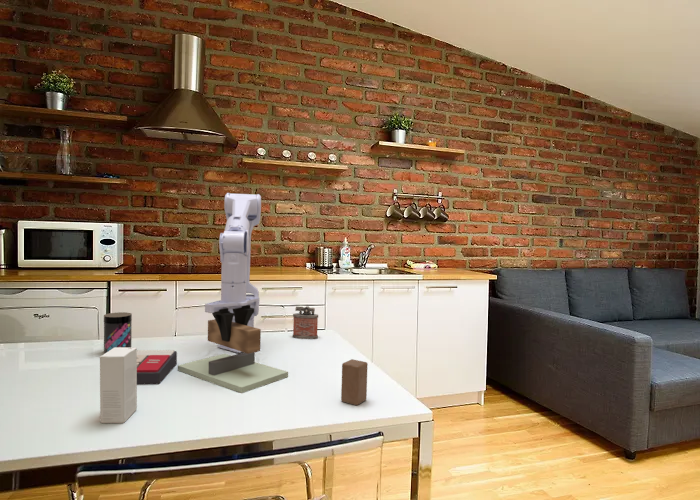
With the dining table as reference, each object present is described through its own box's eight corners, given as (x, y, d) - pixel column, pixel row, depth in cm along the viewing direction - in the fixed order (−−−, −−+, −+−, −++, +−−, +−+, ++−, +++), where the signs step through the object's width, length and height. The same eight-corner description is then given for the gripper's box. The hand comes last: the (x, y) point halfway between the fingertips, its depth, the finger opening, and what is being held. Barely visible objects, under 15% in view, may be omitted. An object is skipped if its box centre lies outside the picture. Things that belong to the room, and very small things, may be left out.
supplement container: (97, 356, 120) (98, 316, 119) (112, 349, 126) (112, 311, 126) (123, 357, 119) (123, 317, 119) (136, 350, 126) (136, 312, 126)
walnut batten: (207, 340, 112) (208, 320, 112) (219, 338, 115) (220, 318, 115) (248, 353, 102) (248, 331, 102) (260, 350, 104) (260, 329, 104)
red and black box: (106, 370, 99) (131, 347, 114) (106, 389, 99) (131, 364, 114) (159, 369, 100) (177, 347, 115) (159, 388, 100) (177, 364, 115)
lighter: (318, 337, 147) (319, 306, 147) (316, 339, 144) (317, 308, 143) (293, 335, 148) (294, 305, 147) (291, 338, 145) (292, 306, 144)
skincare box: (113, 410, 86) (114, 346, 85) (137, 409, 86) (137, 347, 86) (98, 423, 80) (98, 356, 79) (124, 423, 80) (124, 356, 80)
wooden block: (357, 406, 91) (358, 366, 91) (340, 401, 93) (341, 363, 93) (367, 400, 94) (368, 362, 94) (350, 395, 97) (351, 358, 96)
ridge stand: (177, 370, 110) (177, 353, 110) (225, 358, 121) (225, 343, 121) (241, 393, 96) (241, 374, 96) (288, 376, 108) (288, 360, 107)
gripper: (219, 286, 99) (218, 348, 100) (268, 281, 111) (267, 336, 112) (199, 283, 104) (198, 342, 104) (248, 278, 115) (247, 332, 116)
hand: (232, 339), depth 108 cm, fingers closed on walnut batten, 4 cm apart
